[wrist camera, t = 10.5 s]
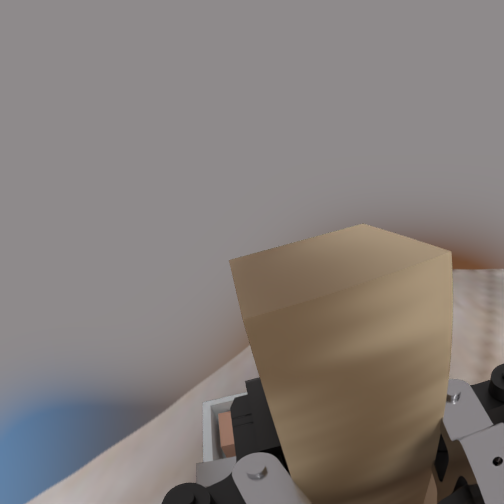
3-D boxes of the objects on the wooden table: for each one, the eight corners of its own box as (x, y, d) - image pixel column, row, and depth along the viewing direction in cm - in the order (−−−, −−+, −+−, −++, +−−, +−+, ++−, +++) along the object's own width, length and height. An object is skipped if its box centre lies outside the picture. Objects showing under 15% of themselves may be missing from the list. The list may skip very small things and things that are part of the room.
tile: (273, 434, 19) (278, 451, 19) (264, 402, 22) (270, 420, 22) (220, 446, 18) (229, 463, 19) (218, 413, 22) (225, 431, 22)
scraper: (434, 422, 14) (433, 194, 11) (488, 484, 8) (548, 210, 6) (216, 496, 13) (111, 280, 10) (224, 584, 7) (35, 364, 5)
